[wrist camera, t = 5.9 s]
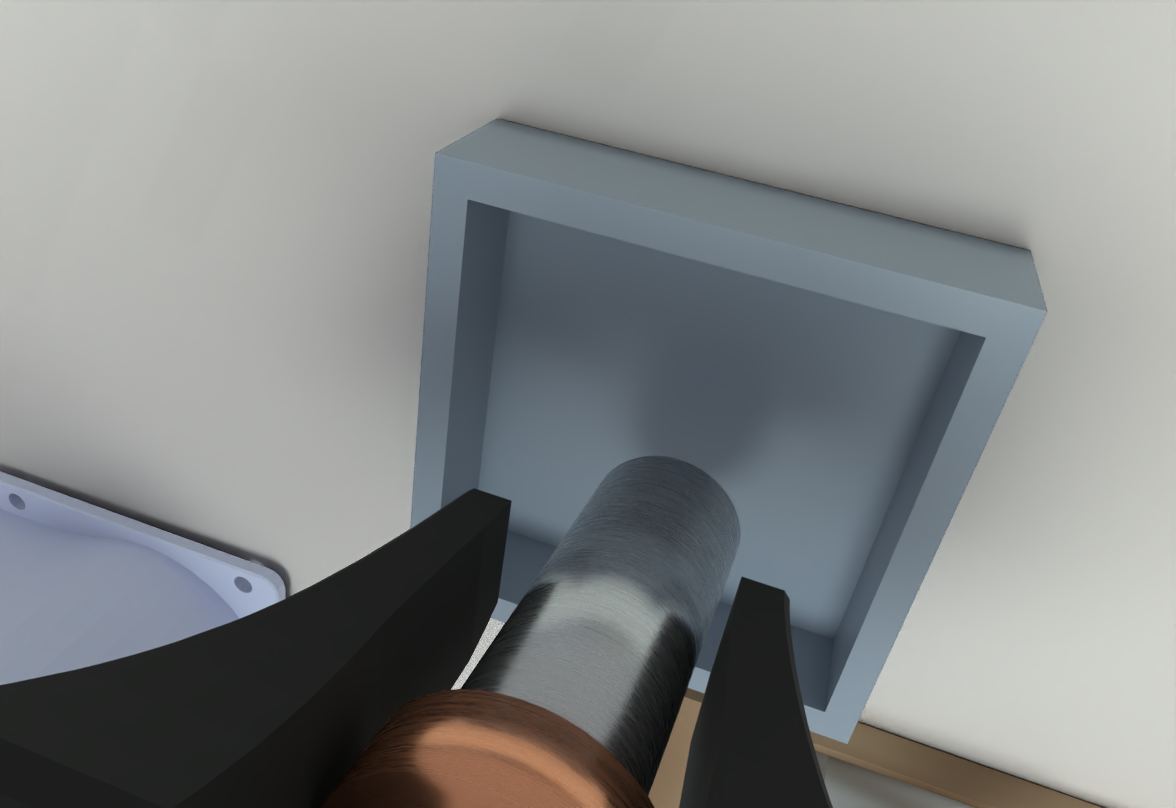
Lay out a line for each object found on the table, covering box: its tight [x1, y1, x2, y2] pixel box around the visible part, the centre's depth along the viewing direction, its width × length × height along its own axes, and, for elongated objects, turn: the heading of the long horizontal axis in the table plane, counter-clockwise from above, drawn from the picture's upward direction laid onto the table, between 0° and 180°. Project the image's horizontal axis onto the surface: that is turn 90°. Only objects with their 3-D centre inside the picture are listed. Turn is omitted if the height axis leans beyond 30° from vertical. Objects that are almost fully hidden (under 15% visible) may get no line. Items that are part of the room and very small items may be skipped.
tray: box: [410, 119, 1047, 744], centre depth 17 cm, size 9×9×2 cm
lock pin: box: [321, 456, 740, 808], centre depth 13 cm, size 4×4×8 cm
